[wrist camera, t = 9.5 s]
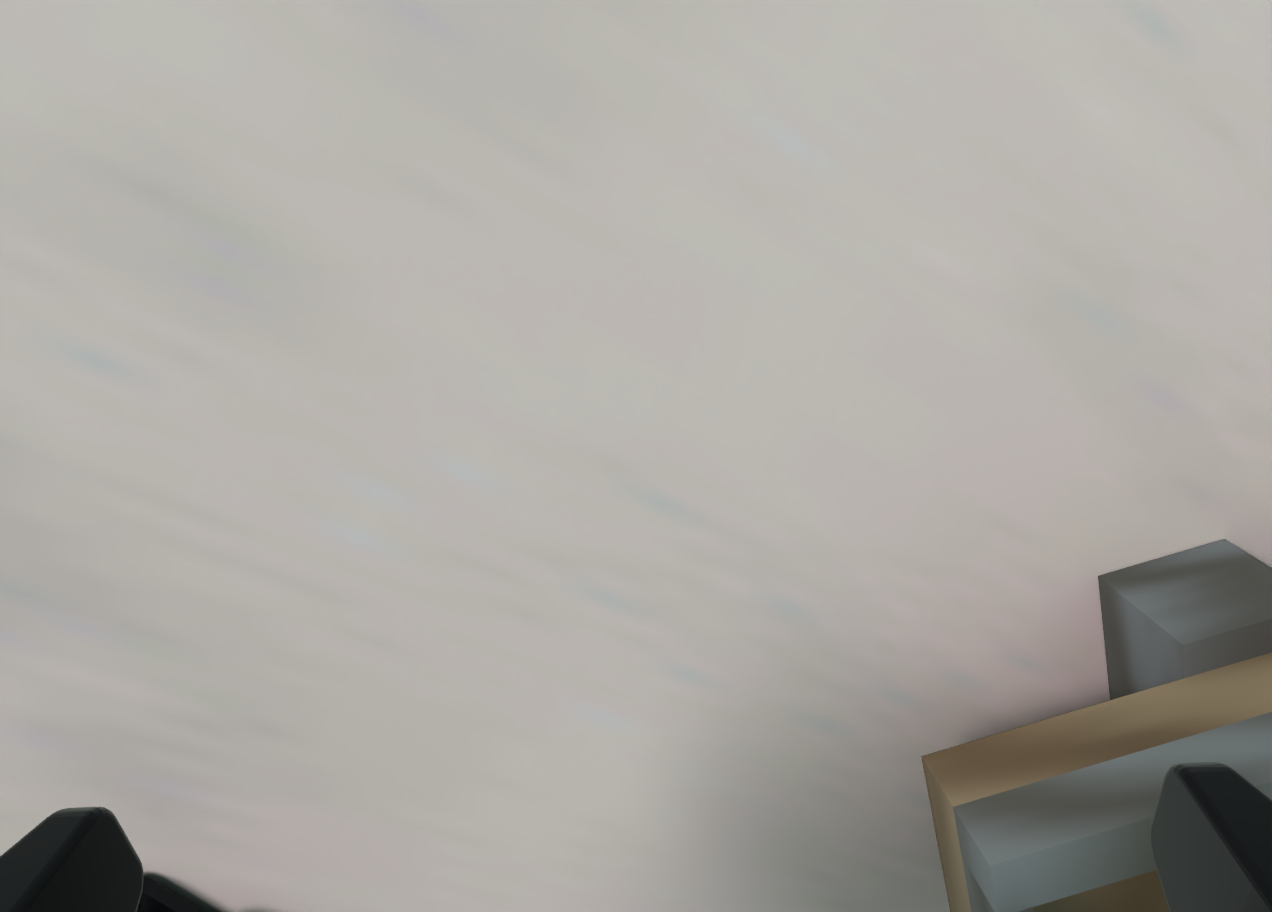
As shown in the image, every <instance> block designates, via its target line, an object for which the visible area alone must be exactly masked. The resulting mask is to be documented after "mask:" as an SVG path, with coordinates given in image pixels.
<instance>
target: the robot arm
mask: <svg viewBox="0 0 1272 912" xmlns="http://www.w3.org/2000/svg"><path fill="white" fill-rule="evenodd" d="M1150 844H1151V850H1152V855H1153V858H1154V862H1155V865H1156V868H1157V871H1158V875H1159V878H1160V881H1161V884H1162V887H1163V890H1164V894H1165V897H1166V900H1167V903H1168V906H1169V910H1170V912H1272V799H1271V798H1270V797H1268V796H1267V795H1266V794H1265V793H1263V792H1262V791H1261V790H1260V789H1258V788H1257V787H1256V786H1255V785H1253V784H1252V783H1251V782H1250V781H1248V780H1247V779H1246V778H1245V777H1243V776H1242V775H1241V774H1240V773H1238V772H1237V771H1236V770H1234V769H1233V768H1231V767H1229V766H1227V765H1225V764H1222V763H1217V762H1202V763H1179V764H1174V765H1173V766H1171V767H1170V768H1169V769H1168V770H1167V772H1166V774H1165V777H1164V780H1163V784H1162V787H1161V791H1160V794H1159V798H1158V801H1157V805H1156V809H1155V812H1154V816H1153V819H1152V823H1151V828H1150ZM139 902H140V903H139ZM0 912H205V911H203V910H201V909H200V908H198V907H196V906H195V905H193V904H191V903H189V902H188V901H186V900H184V899H183V898H181V897H179V896H178V895H176V894H174V893H173V892H171V891H169V890H167V889H166V888H164V887H162V886H161V885H159V884H157V883H156V882H154V881H152V880H150V879H148V878H145V877H143V868H142V863H141V861H140V859H139V857H138V855H137V853H136V852H135V850H134V848H133V846H132V845H131V843H130V841H129V839H128V838H127V836H126V834H125V832H124V831H123V829H122V827H121V825H120V824H119V822H118V820H117V818H116V817H115V815H114V814H113V813H112V812H111V811H110V810H108V809H106V808H104V807H82V808H67V809H62V810H59V811H57V812H55V813H53V814H52V815H50V816H49V817H47V818H46V819H45V820H44V821H42V822H41V823H40V824H39V825H38V826H36V827H35V828H34V829H33V830H32V831H30V832H29V833H28V834H27V835H25V836H24V837H23V838H22V839H21V840H19V841H18V842H17V843H16V844H15V845H13V846H12V847H11V848H10V849H9V850H7V851H6V852H5V853H4V854H3V855H1V856H0Z"/></svg>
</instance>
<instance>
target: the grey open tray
mask: <svg viewBox="0 0 1272 912" xmlns="http://www.w3.org/2000/svg"><path fill="white" fill-rule="evenodd" d="M1098 580H1099V590H1100V600H1101V610H1102V620H1103V630H1104V640H1105V650H1106V661H1107V671H1108V681H1109V691H1110V701H1106V702H1103V703H1100V704H1096V705H1093V706H1089V707H1086V708H1083V709H1079V710H1076V711H1073V712H1069V713H1066V714H1063V715H1059V716H1056V717H1052V718H1049V719H1046V720H1042V721H1039V722H1036V723H1032V724H1029V725H1025V726H1022V727H1019V728H1015V729H1012V730H1009V731H1005V732H1002V733H998V734H995V735H992V736H988V737H985V738H982V739H978V740H975V741H971V742H968V743H965V744H961V745H958V746H955V747H951V748H948V749H945V750H941V751H938V752H934V753H931V754H928V755H924V756H921V757H922V762H923V767H924V773H925V778H926V783H927V789H928V794H929V799H930V805H931V810H932V815H933V821H934V826H935V831H936V837H937V842H938V848H939V853H940V858H941V864H942V869H943V874H944V880H945V885H946V890H947V896H948V901H949V906H950V912H1170V910H1169V906H1168V903H1167V900H1166V897H1165V894H1164V890H1163V887H1162V884H1161V881H1160V878H1159V875H1158V871H1157V868H1156V865H1155V862H1154V858H1153V855H1152V850H1151V844H1150V828H1151V823H1152V819H1153V816H1154V812H1155V809H1156V805H1157V801H1158V798H1159V794H1160V791H1161V787H1162V784H1163V780H1164V777H1165V774H1166V772H1167V770H1168V769H1169V768H1170V767H1171V766H1173V765H1174V764H1179V763H1202V762H1217V763H1222V764H1225V765H1227V766H1229V767H1231V768H1233V769H1234V770H1236V771H1237V772H1238V773H1240V774H1241V775H1242V776H1243V777H1245V778H1246V779H1247V780H1248V781H1250V782H1251V783H1252V784H1253V785H1255V786H1256V787H1257V788H1258V789H1260V790H1261V791H1262V792H1263V793H1265V794H1266V795H1267V796H1268V797H1270V798H1271V799H1272V568H1271V567H1269V566H1268V565H1266V564H1264V563H1263V562H1261V561H1260V560H1258V559H1256V558H1255V557H1253V556H1251V555H1250V554H1248V553H1247V552H1245V551H1243V550H1242V549H1240V548H1239V547H1237V546H1235V545H1234V544H1232V543H1230V542H1229V541H1227V540H1226V539H1223V540H1219V541H1216V542H1213V543H1209V544H1206V545H1202V546H1199V547H1196V548H1192V549H1189V550H1185V551H1182V552H1179V553H1175V554H1172V555H1168V556H1165V557H1162V558H1158V559H1155V560H1151V561H1148V562H1144V563H1141V564H1138V565H1134V566H1131V567H1127V568H1124V569H1121V570H1117V571H1114V572H1110V573H1107V574H1104V575H1100V576H1098Z"/></svg>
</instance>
